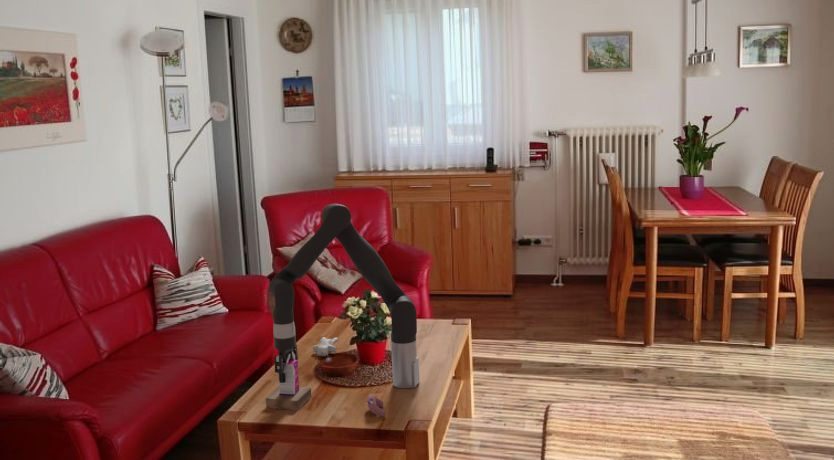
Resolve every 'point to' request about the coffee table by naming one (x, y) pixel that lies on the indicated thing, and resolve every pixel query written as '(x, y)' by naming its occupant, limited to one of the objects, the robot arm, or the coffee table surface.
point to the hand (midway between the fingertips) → (287, 378)
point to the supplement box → (290, 379)
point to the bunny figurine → (325, 346)
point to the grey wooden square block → (288, 399)
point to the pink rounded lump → (375, 405)
